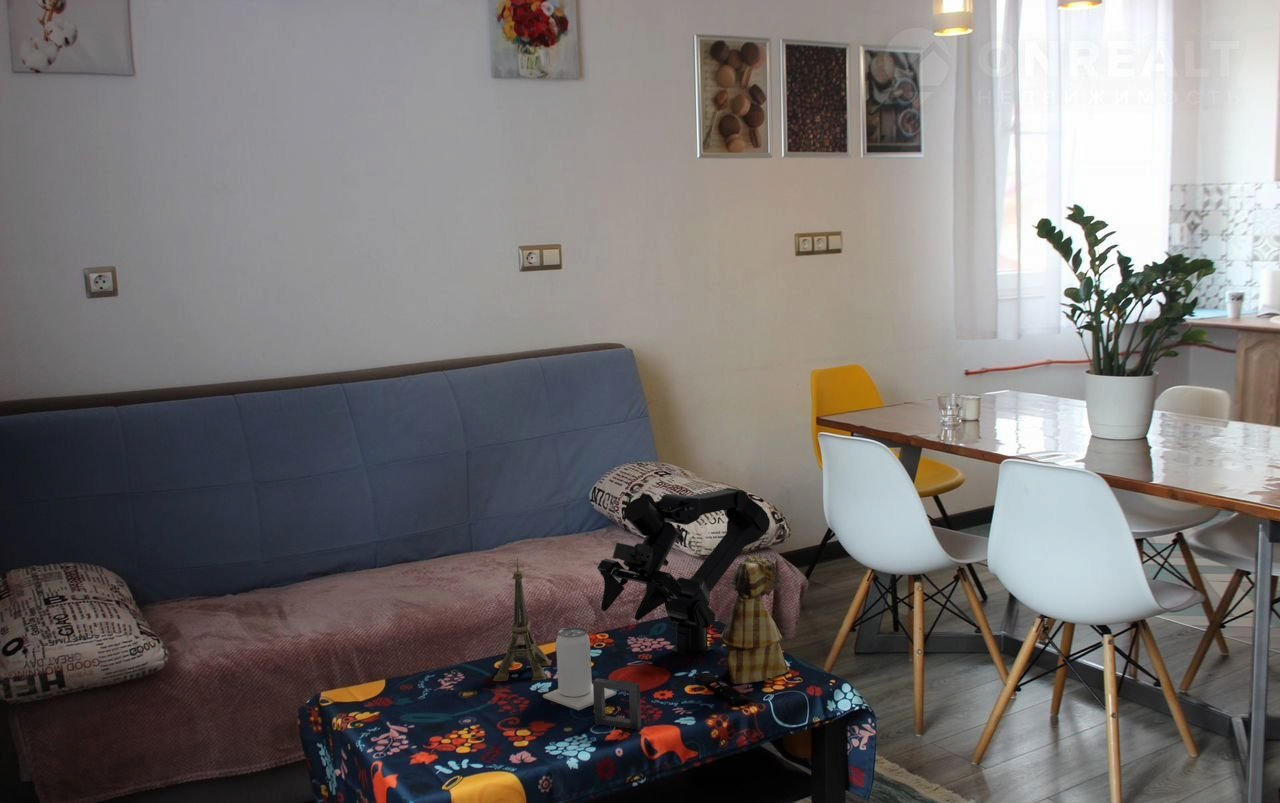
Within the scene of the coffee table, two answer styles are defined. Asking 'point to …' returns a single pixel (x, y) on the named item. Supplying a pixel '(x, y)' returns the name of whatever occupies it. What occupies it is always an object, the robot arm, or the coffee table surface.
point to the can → (573, 662)
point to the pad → (576, 698)
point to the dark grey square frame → (633, 701)
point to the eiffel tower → (524, 647)
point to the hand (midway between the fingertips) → (619, 614)
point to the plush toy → (753, 625)
